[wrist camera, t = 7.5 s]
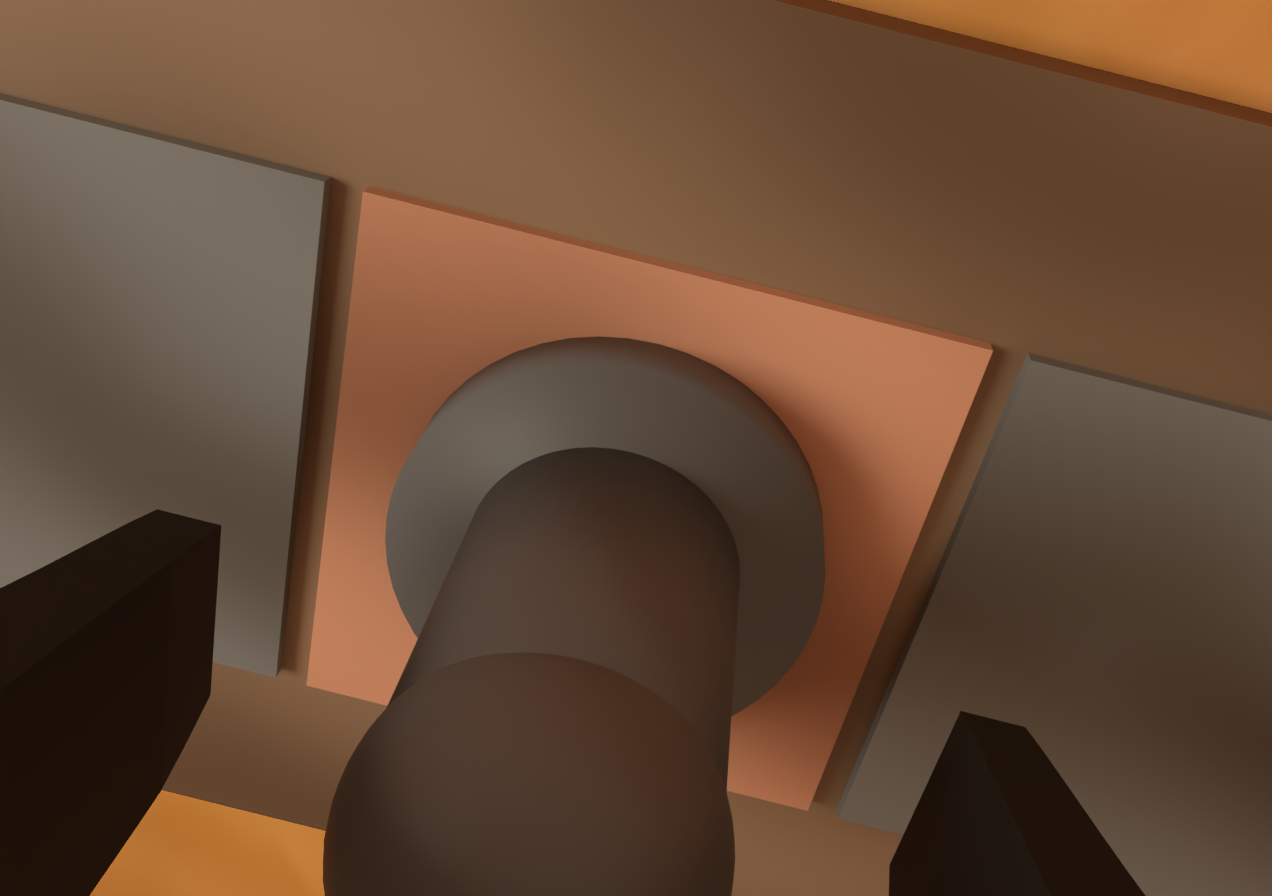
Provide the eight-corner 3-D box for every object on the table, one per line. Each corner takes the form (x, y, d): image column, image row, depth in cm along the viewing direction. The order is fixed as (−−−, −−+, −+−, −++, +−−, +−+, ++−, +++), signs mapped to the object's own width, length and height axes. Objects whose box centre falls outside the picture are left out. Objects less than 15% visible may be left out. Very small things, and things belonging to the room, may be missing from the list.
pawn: (758, 737, 15) (740, 1299, 9) (382, 643, 15) (133, 1146, 9) (880, 399, 13) (956, 870, 7) (436, 287, 13) (148, 667, 7)
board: (1226, 999, 18) (1254, 1074, 17) (-623, 537, 18) (-713, 583, 16) (1767, 240, 12) (1862, 280, 11) (-965, -456, 12) (-1138, -483, 11)
